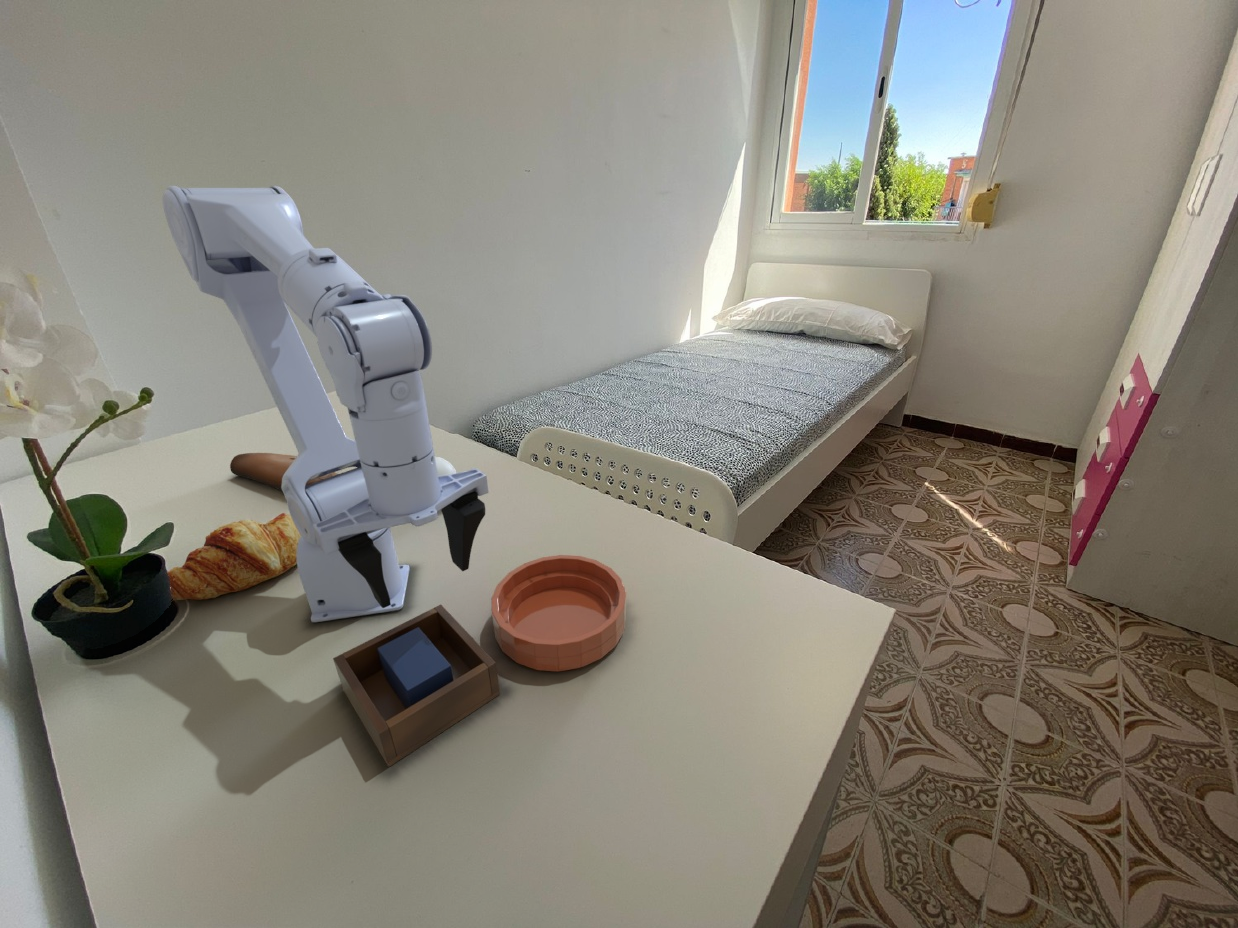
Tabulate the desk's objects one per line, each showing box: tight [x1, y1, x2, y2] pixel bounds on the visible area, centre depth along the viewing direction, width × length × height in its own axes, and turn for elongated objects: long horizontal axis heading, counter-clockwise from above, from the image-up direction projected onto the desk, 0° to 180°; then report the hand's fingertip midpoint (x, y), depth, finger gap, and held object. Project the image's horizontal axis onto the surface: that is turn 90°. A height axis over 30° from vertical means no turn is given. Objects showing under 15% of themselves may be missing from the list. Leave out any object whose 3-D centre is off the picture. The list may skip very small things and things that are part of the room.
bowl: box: [490, 554, 627, 672], centre depth 58 cm, size 14×14×4 cm
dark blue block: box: [378, 627, 454, 709], centre depth 50 cm, size 4×6×4 cm, turn 43°
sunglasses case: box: [229, 452, 339, 491], centre depth 88 cm, size 18×7×7 cm, turn 63°
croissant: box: [166, 512, 301, 601], centre depth 67 cm, size 21×10×8 cm, turn 141°
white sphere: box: [435, 456, 457, 476], centre depth 80 cm, size 10×7×7 cm
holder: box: [332, 604, 501, 768], centre depth 50 cm, size 11×11×4 cm
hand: (423, 582), depth 51 cm, fingers open, 7 cm apart
